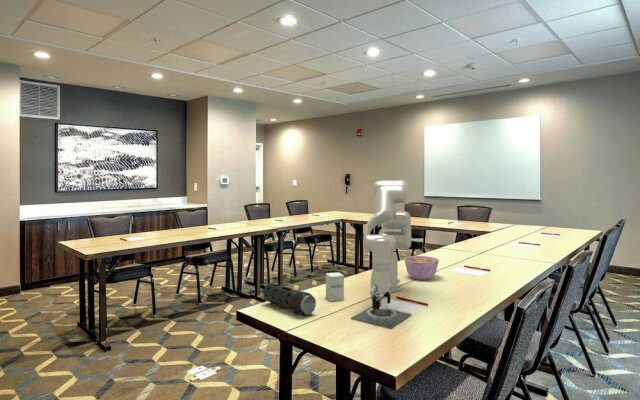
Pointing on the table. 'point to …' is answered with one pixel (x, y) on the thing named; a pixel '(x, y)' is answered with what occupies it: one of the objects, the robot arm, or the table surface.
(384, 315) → the piston
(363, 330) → the table surface
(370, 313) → the ring mat
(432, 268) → the bowl of food
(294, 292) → the muzzle brake
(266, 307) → the table surface
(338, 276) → the supplement box
